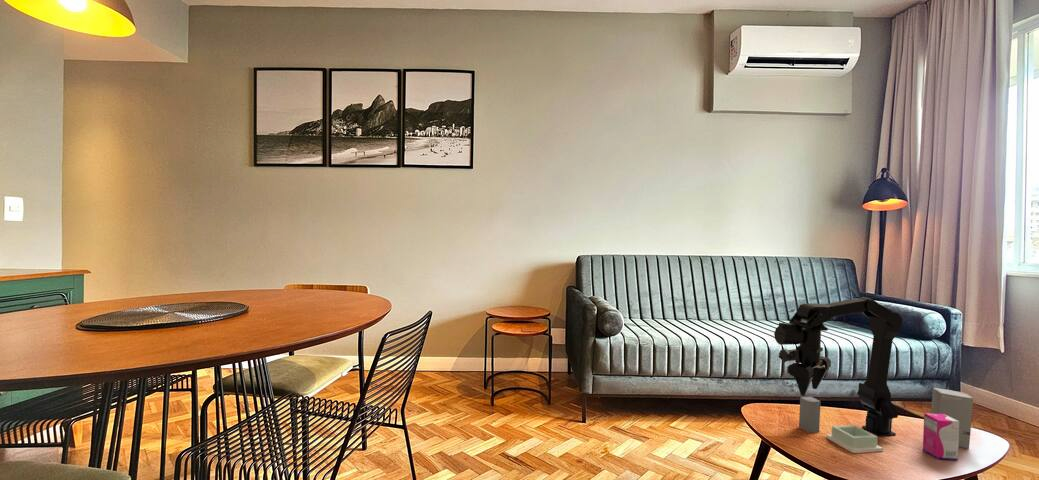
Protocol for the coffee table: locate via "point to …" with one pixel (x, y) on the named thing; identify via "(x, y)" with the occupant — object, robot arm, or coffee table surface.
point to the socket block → (854, 439)
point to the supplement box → (941, 436)
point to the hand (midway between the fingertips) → (808, 392)
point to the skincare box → (955, 411)
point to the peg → (809, 414)
